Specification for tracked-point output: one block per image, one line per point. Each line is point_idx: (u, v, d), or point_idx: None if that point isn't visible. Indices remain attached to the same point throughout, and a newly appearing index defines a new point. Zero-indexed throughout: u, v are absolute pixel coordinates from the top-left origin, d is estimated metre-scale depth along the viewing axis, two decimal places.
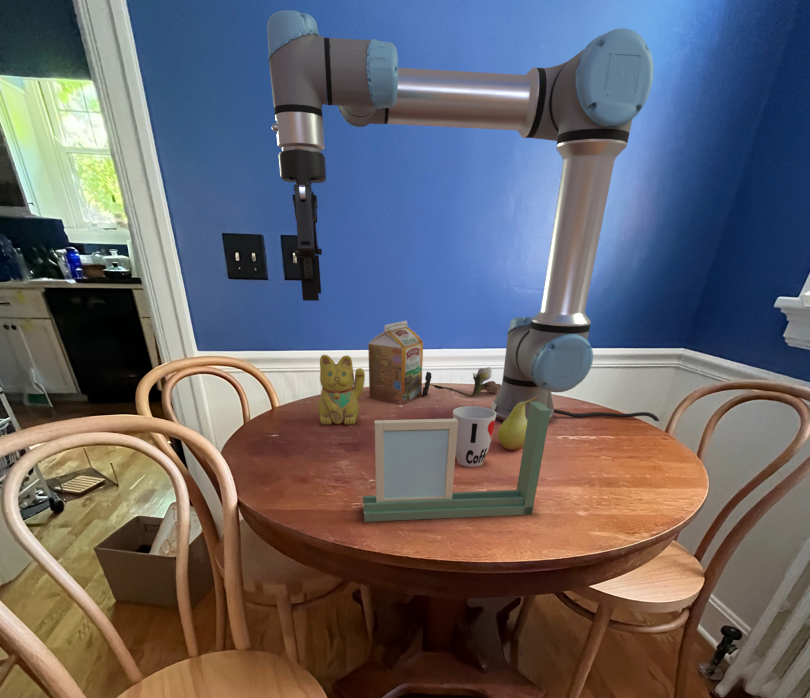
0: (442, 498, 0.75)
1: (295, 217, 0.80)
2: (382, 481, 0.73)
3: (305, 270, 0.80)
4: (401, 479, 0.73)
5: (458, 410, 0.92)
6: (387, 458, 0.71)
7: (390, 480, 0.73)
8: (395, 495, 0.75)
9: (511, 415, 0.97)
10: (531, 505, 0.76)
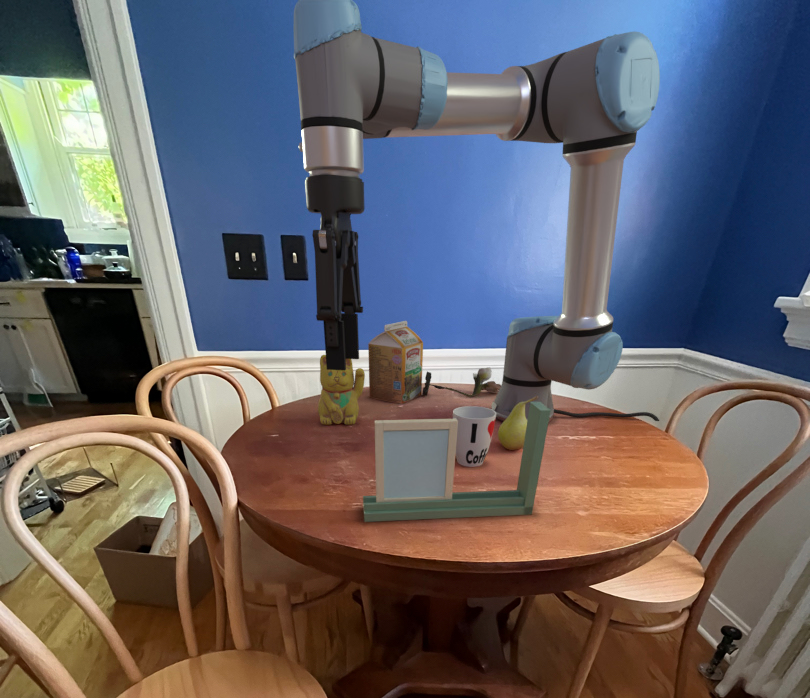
0: (442, 498, 0.75)
1: None
2: (382, 481, 0.73)
3: (328, 336, 0.66)
4: (401, 479, 0.73)
5: (458, 410, 0.92)
6: (387, 458, 0.71)
7: (390, 480, 0.73)
8: (395, 495, 0.75)
9: (511, 415, 0.97)
10: (531, 505, 0.76)
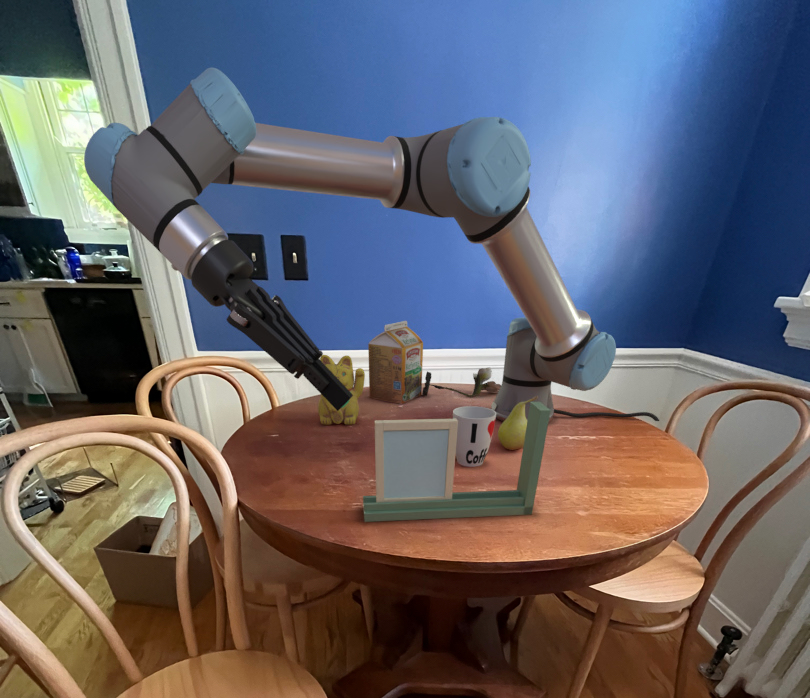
0: (442, 498, 0.75)
1: None
2: (382, 481, 0.73)
3: (314, 383, 0.64)
4: (401, 479, 0.73)
5: (458, 410, 0.92)
6: (387, 458, 0.71)
7: (390, 480, 0.73)
8: (395, 495, 0.75)
9: (511, 415, 0.97)
10: (531, 505, 0.76)
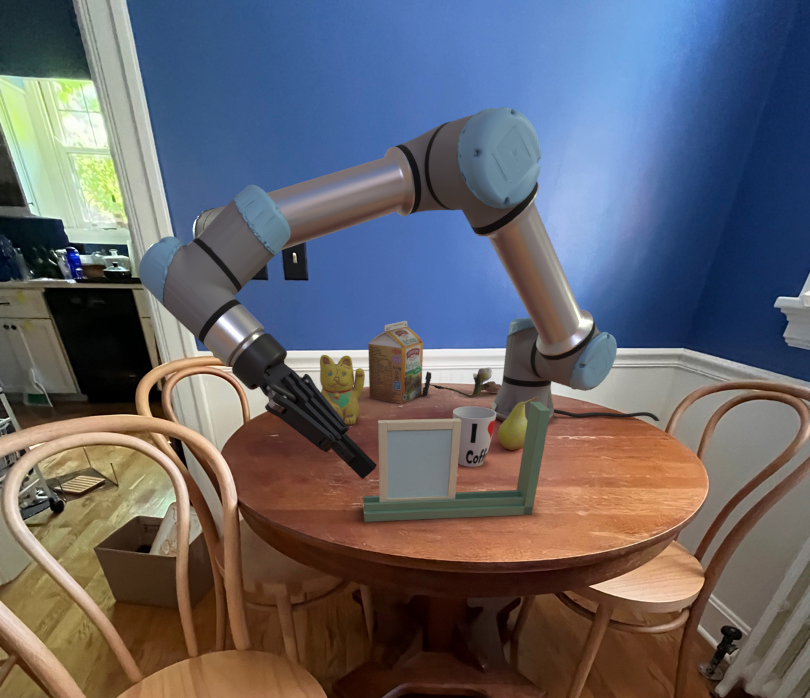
0: (445, 498, 0.75)
1: None
2: (385, 481, 0.73)
3: (342, 456, 0.70)
4: (404, 479, 0.73)
5: (458, 410, 0.92)
6: (390, 458, 0.71)
7: (393, 480, 0.73)
8: (398, 495, 0.75)
9: (511, 415, 0.97)
10: (531, 505, 0.76)
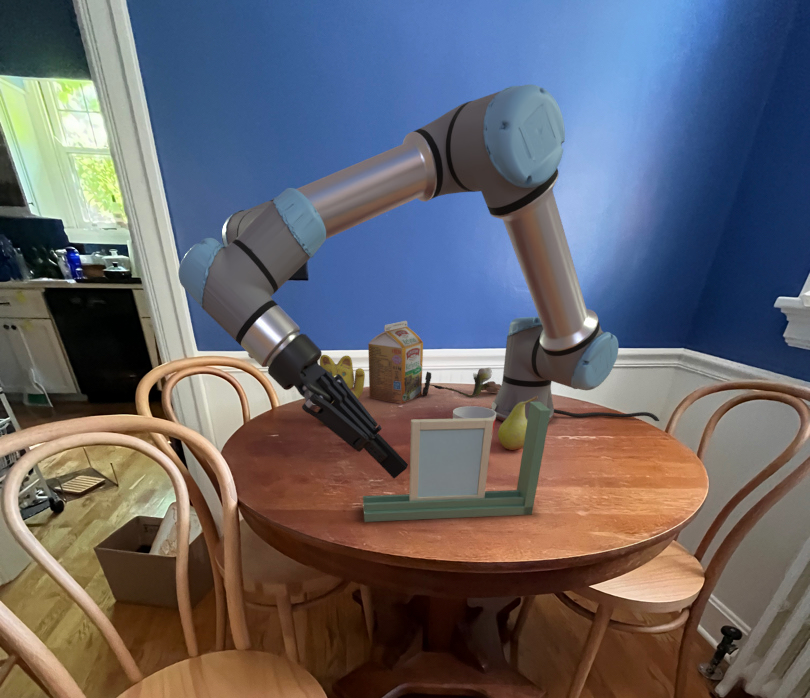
0: (475, 497, 0.76)
1: None
2: (416, 480, 0.73)
3: (375, 456, 0.70)
4: (435, 478, 0.74)
5: (458, 410, 0.92)
6: (422, 457, 0.72)
7: (424, 479, 0.74)
8: (428, 494, 0.75)
9: (511, 415, 0.97)
10: (531, 505, 0.76)
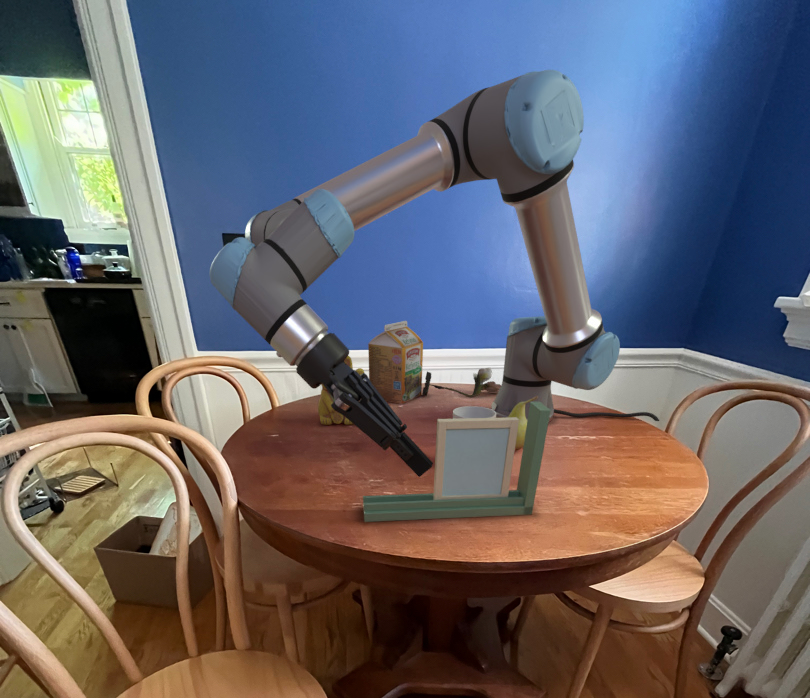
0: (498, 496, 0.76)
1: None
2: (441, 479, 0.74)
3: (401, 454, 0.70)
4: (460, 477, 0.74)
5: (458, 410, 0.92)
6: (447, 456, 0.72)
7: (449, 478, 0.74)
8: (453, 493, 0.76)
9: (511, 415, 0.97)
10: (531, 505, 0.76)
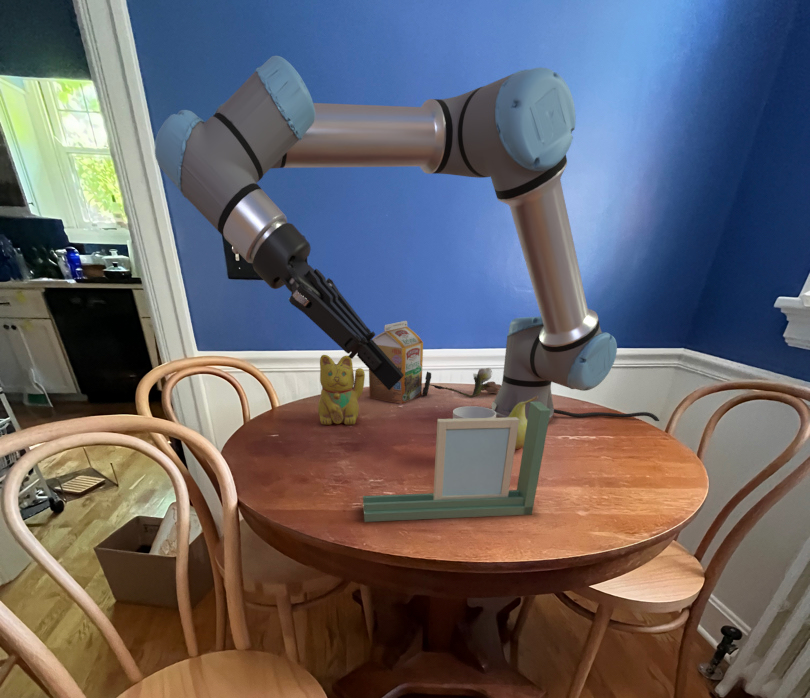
0: (498, 496, 0.76)
1: None
2: (441, 479, 0.74)
3: (368, 362, 0.66)
4: (460, 477, 0.74)
5: (458, 410, 0.92)
6: (447, 456, 0.72)
7: (449, 478, 0.74)
8: (453, 493, 0.76)
9: (511, 415, 0.97)
10: (531, 505, 0.76)
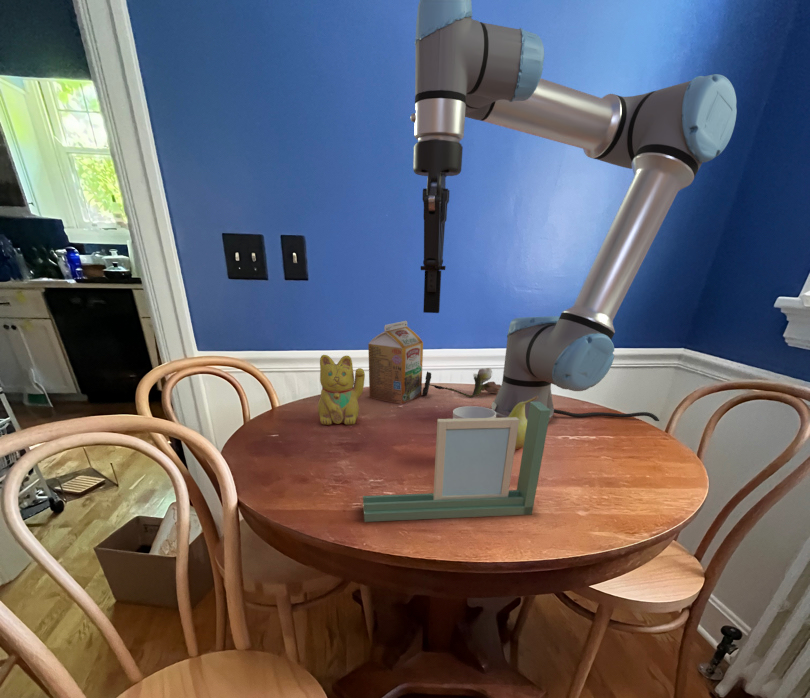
0: (498, 496, 0.76)
1: None
2: (441, 479, 0.74)
3: (428, 283, 0.81)
4: (460, 477, 0.74)
5: (458, 410, 0.92)
6: (447, 456, 0.72)
7: (449, 478, 0.74)
8: (453, 493, 0.76)
9: (511, 415, 0.97)
10: (531, 505, 0.76)
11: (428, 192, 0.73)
